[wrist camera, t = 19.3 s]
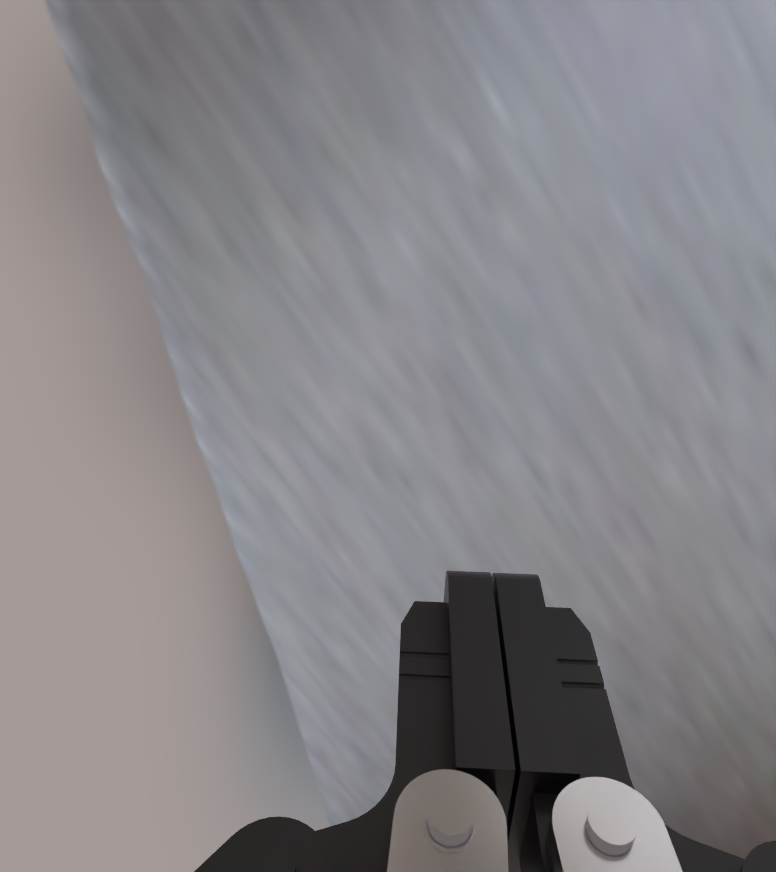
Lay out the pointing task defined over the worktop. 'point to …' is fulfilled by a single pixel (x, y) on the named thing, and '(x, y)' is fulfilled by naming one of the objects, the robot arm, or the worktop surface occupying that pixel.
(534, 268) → the worktop surface
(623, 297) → the worktop surface
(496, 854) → the robot arm
